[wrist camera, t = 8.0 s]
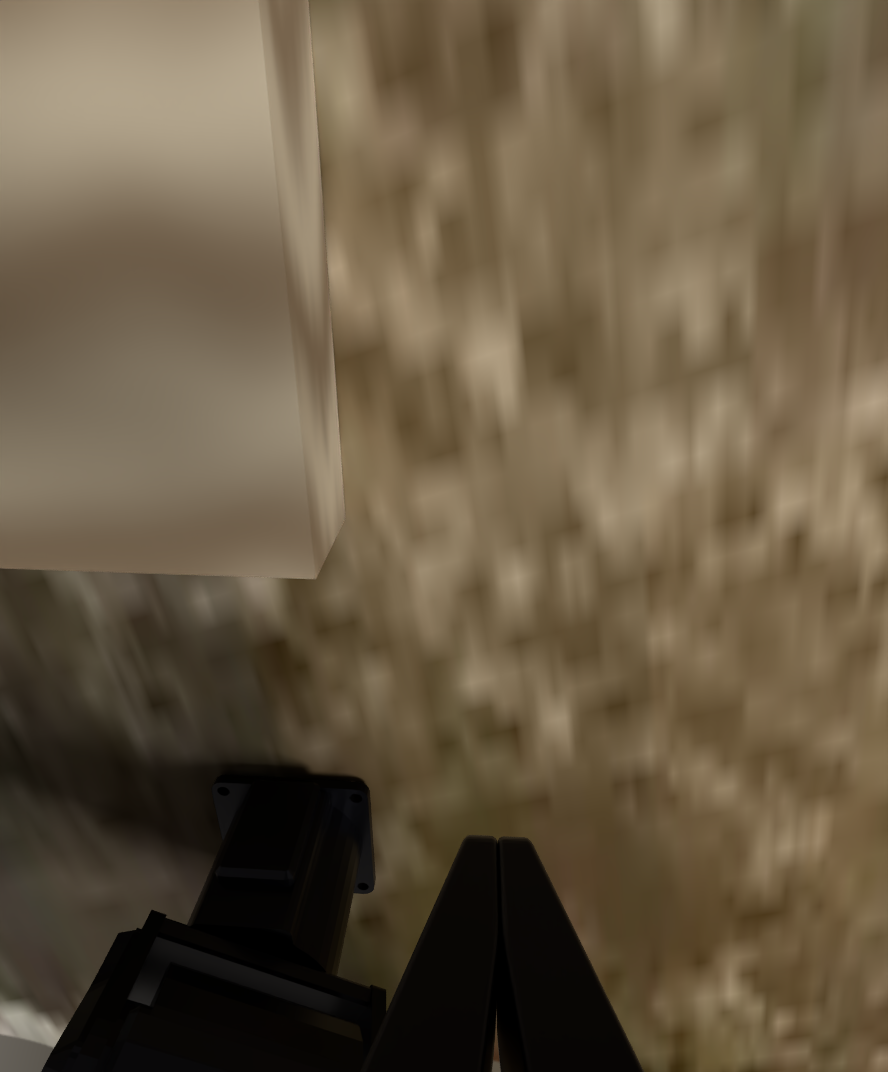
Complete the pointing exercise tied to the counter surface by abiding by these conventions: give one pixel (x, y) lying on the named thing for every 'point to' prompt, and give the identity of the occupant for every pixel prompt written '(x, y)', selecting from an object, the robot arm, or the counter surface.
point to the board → (164, 291)
